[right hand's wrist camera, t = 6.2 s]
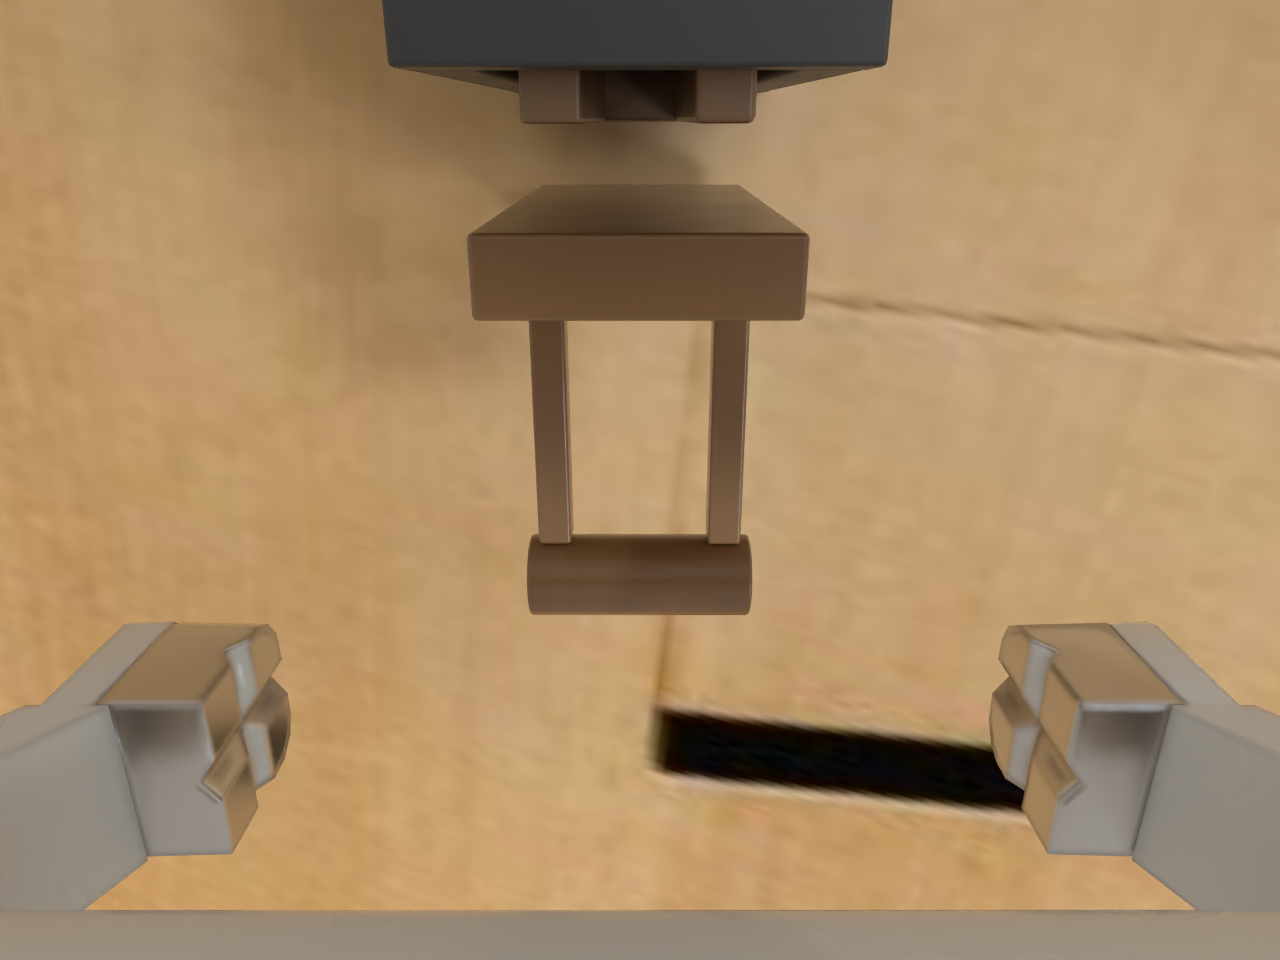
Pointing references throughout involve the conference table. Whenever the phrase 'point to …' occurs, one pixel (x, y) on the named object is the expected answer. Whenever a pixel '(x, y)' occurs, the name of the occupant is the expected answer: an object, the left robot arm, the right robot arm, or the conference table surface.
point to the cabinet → (637, 37)
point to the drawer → (638, 291)
